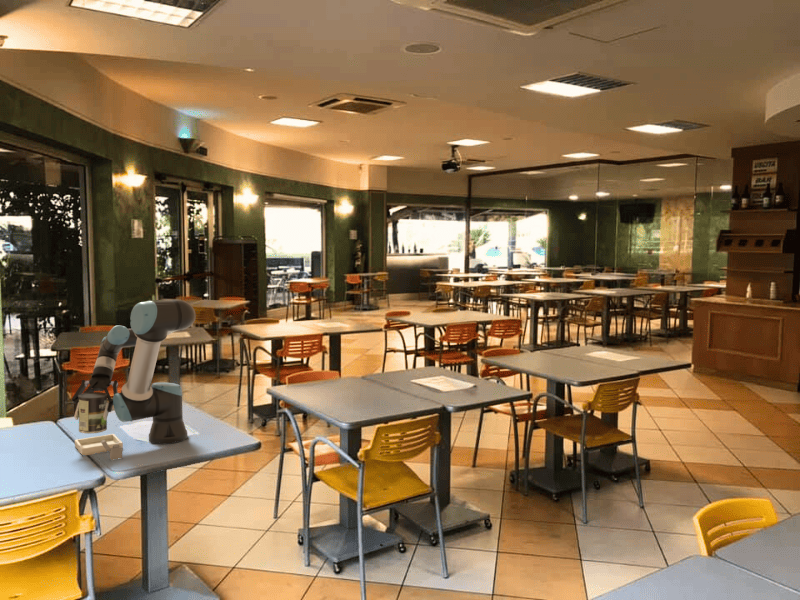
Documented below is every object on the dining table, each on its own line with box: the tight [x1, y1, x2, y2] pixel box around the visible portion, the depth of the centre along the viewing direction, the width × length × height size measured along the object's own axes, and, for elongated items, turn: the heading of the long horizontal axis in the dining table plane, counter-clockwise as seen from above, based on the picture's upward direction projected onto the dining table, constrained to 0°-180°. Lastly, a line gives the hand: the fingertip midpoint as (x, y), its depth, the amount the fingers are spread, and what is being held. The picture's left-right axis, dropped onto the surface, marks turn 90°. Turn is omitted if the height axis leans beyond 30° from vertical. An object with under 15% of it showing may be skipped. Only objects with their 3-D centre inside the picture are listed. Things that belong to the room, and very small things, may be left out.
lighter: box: [101, 440, 123, 461], centre depth 250 cm, size 7×2×8 cm, turn 129°
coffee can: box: [78, 391, 108, 435], centre depth 264 cm, size 10×10×14 cm
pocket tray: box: [74, 433, 124, 456], centre depth 264 cm, size 15×15×3 cm
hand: (90, 418), depth 261 cm, fingers closed on coffee can, 10 cm apart
